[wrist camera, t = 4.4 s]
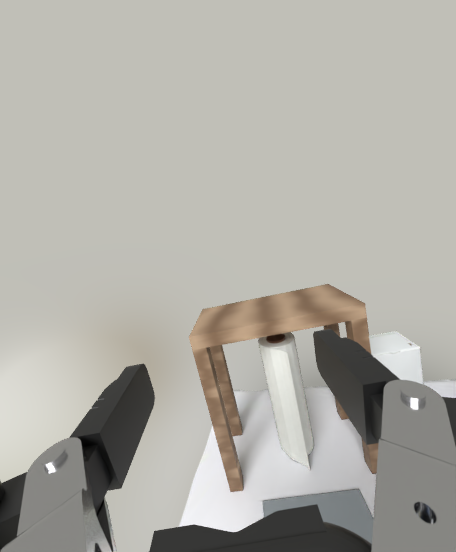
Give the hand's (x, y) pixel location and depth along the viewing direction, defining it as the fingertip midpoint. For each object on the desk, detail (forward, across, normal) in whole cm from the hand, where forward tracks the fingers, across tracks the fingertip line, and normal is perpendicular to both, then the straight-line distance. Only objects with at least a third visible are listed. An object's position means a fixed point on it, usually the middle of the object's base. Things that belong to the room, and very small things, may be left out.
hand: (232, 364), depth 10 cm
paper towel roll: (+23, +6, -35) cm, 42 cm away
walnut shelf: (+23, +6, -34) cm, 42 cm away
